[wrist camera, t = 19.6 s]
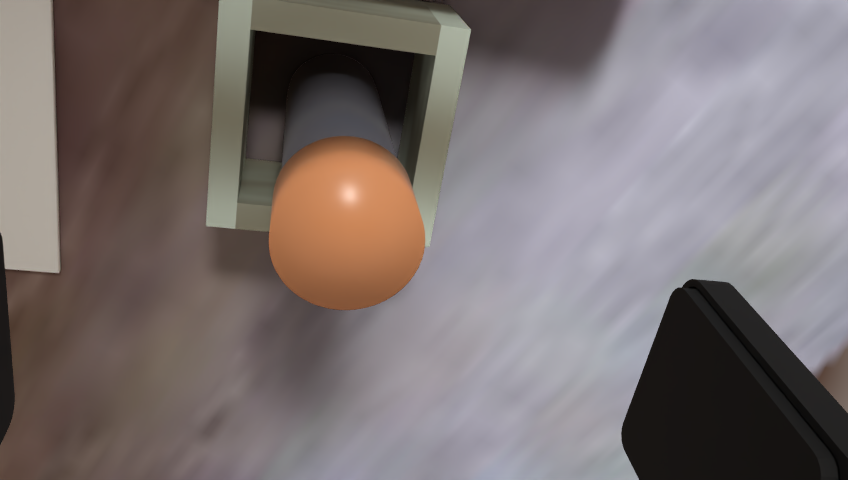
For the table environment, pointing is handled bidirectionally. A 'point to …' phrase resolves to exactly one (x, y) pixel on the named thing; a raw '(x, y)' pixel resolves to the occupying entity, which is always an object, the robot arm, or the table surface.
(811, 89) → the table surface
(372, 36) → the pen holder
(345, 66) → the marker
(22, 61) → the paper
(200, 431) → the table surface
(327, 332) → the table surface
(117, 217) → the table surface
